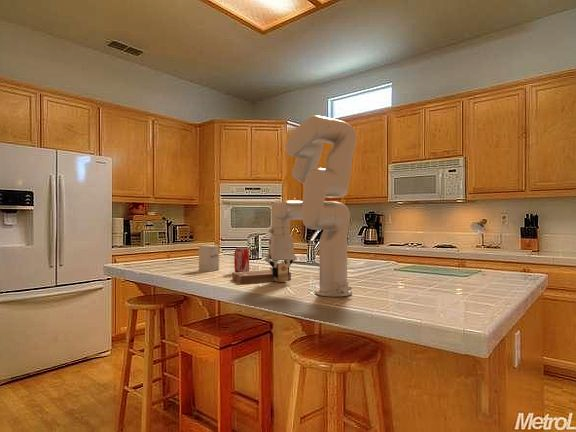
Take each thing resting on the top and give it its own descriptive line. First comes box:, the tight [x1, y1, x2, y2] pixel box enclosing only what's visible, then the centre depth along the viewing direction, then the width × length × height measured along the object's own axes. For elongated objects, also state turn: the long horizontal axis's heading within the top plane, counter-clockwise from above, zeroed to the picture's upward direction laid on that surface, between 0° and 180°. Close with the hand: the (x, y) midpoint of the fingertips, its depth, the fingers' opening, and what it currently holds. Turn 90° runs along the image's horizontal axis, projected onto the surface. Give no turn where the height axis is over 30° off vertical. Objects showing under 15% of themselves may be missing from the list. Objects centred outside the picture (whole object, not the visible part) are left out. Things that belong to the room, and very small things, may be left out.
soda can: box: [233, 247, 250, 272], centre depth 178 cm, size 7×7×12 cm
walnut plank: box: [231, 269, 292, 285], centre depth 158 cm, size 12×22×3 cm, turn 116°
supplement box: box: [198, 244, 220, 273], centre depth 187 cm, size 7×7×13 cm
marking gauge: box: [269, 262, 289, 283], centre depth 155 cm, size 14×4×7 cm, turn 26°
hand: (280, 276), depth 152 cm, fingers closed on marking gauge, 4 cm apart
